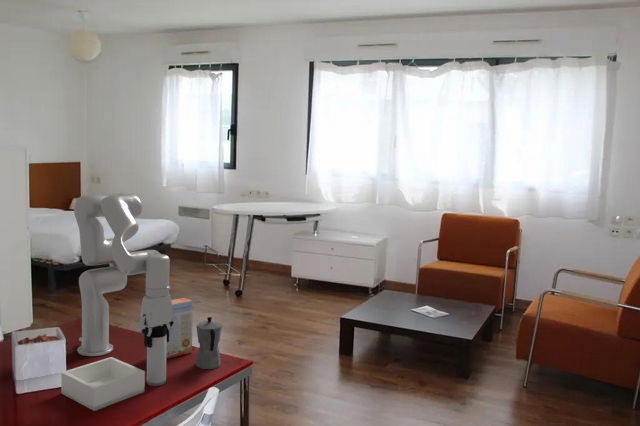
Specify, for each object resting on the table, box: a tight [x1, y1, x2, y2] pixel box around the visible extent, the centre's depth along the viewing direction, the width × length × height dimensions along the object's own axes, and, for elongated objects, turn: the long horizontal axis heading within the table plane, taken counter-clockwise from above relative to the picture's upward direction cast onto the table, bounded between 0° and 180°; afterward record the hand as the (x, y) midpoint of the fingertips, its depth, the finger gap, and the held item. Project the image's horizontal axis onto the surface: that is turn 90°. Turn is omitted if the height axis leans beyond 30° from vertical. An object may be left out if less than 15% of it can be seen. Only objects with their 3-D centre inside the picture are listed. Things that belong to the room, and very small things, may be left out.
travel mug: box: [146, 326, 167, 387], centre depth 194 cm, size 6×7×20 cm
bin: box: [60, 356, 146, 412], centre depth 185 cm, size 18×18×7 cm
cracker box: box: [160, 297, 194, 360], centre depth 219 cm, size 14×6×21 cm, turn 133°
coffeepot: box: [195, 316, 223, 370], centre depth 210 cm, size 15×9×18 cm, turn 20°
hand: (156, 343), depth 193 cm, fingers closed on travel mug, 6 cm apart
